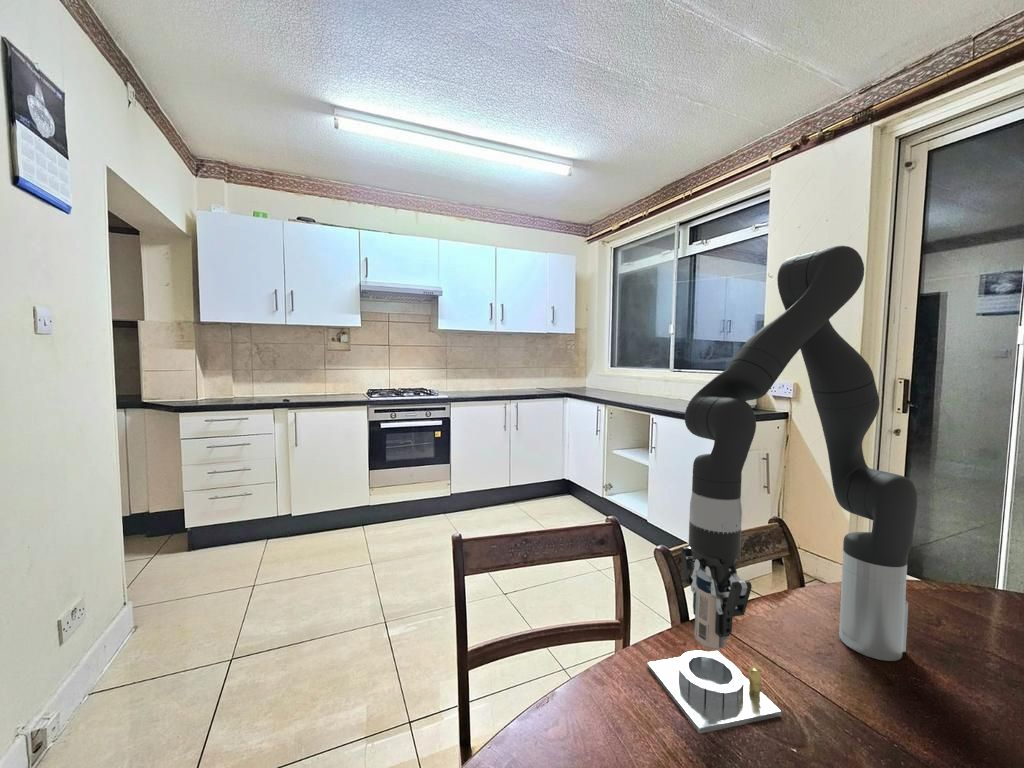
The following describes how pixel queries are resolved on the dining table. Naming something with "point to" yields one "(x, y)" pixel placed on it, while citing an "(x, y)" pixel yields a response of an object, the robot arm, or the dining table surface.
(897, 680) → the dining table surface
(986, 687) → the dining table surface
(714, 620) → the beer can
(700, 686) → the flange collar
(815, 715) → the dining table surface
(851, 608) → the robot arm
